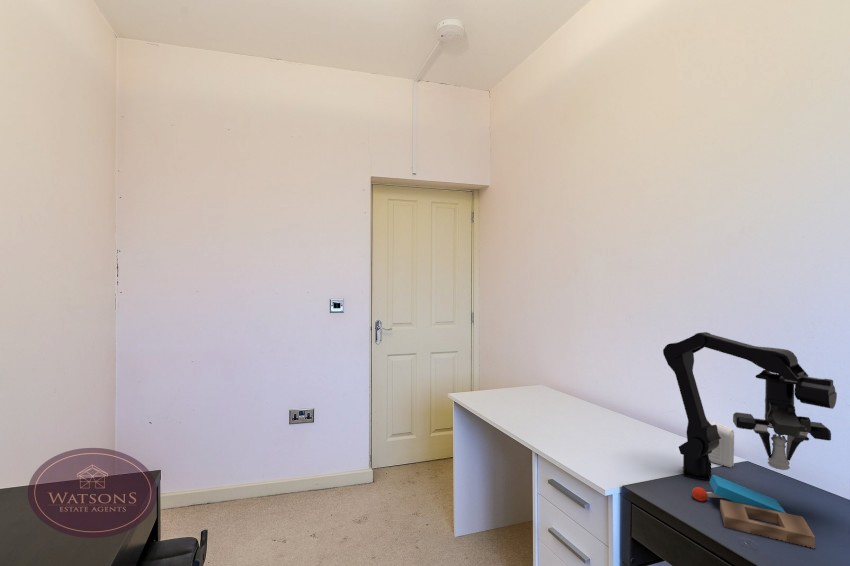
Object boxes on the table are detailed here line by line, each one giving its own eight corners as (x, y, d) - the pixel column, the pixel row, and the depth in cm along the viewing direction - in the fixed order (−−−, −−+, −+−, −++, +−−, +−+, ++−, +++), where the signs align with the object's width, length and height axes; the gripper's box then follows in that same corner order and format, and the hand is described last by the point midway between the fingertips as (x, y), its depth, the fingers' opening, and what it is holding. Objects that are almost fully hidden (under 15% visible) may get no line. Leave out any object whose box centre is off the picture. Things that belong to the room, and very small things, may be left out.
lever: (766, 524, 108) (688, 491, 115) (776, 499, 107) (696, 467, 114) (776, 539, 102) (692, 503, 109) (786, 513, 101) (701, 478, 108)
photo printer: (736, 465, 132) (736, 426, 132) (730, 469, 129) (731, 428, 129) (699, 454, 140) (700, 417, 140) (694, 457, 137) (694, 419, 137)
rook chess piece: (794, 471, 106) (794, 439, 106) (774, 469, 107) (774, 438, 107) (782, 463, 110) (783, 433, 110) (763, 462, 111) (763, 432, 111)
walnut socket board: (724, 527, 98) (724, 516, 98) (719, 508, 106) (720, 499, 106) (814, 548, 91) (815, 537, 91) (802, 527, 98) (802, 516, 98)
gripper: (741, 401, 106) (740, 463, 106) (840, 412, 97) (839, 479, 97) (733, 391, 115) (732, 447, 116) (822, 400, 107) (821, 461, 107)
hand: (778, 458), depth 108 cm, fingers closed on rook chess piece, 3 cm apart
